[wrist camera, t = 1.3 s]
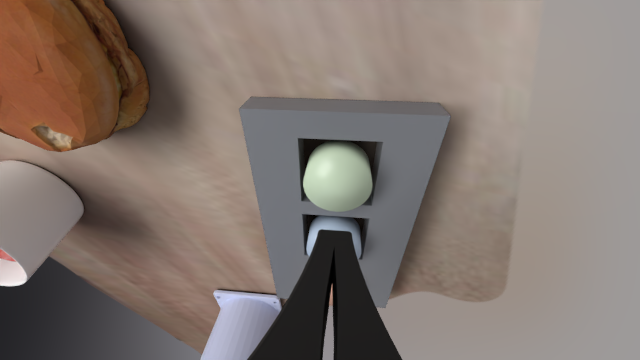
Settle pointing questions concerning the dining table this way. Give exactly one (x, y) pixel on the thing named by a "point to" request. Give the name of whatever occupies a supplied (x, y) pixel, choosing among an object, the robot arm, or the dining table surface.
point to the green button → (338, 176)
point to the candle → (32, 218)
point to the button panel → (387, 176)
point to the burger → (66, 74)
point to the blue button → (334, 224)
